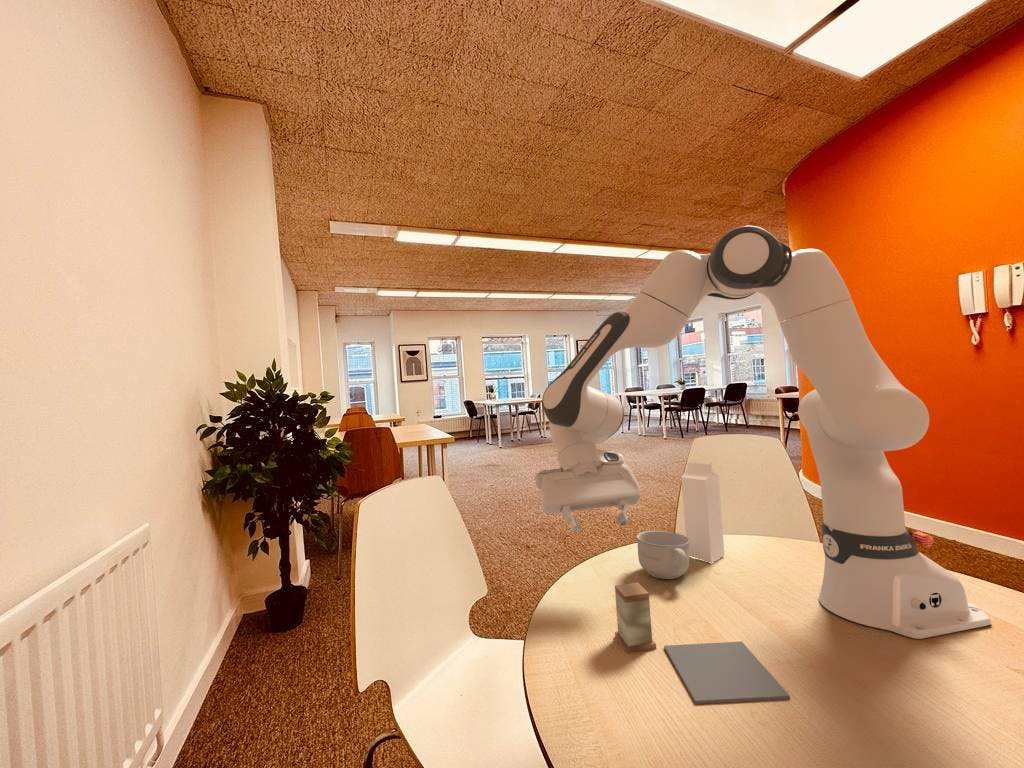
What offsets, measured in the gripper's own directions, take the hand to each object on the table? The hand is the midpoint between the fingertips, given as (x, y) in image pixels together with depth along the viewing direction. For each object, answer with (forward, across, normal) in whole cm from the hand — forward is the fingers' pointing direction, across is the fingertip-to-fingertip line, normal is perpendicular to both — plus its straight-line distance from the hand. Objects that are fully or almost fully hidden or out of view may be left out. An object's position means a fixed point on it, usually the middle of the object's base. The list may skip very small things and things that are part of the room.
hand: (600, 526), depth 82 cm
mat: (+26, +8, -5) cm, 28 cm away
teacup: (+5, +17, +16) cm, 24 cm away
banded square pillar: (+19, 0, +2) cm, 19 cm away
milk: (0, +30, +21) cm, 37 cm away
